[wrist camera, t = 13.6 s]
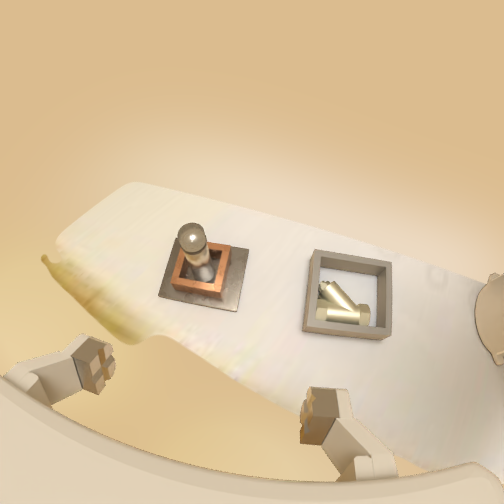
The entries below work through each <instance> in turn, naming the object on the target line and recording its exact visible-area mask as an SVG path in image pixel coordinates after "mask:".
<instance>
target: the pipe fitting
mask: <svg viewBox="0 0 504 504" xmlns="http://www.w3.org/2000/svg"><path fill="white" fill-rule="evenodd" d="M319 286H320V288H319V291H320V294H319V295H318V297H319V298H320V299H317V306H316V315H315V320H320V321H328V322H336V323H344V324H352V325H361V326H368V325H369V321H370V308H369V306H368V305H367V304H358V305H356V304H355V303H354V302H353V301H352V300H351V299H350V298H349V296H348V295H347V294H346V293H345V292H344V291H343V290H342V289H341V288H340V286H339V285H338V284H337V283H336V282H335V281H333V282H331V283H330V282H329V281H327V282H324V281H322V282H321V283H320V284H319Z"/></svg>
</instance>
